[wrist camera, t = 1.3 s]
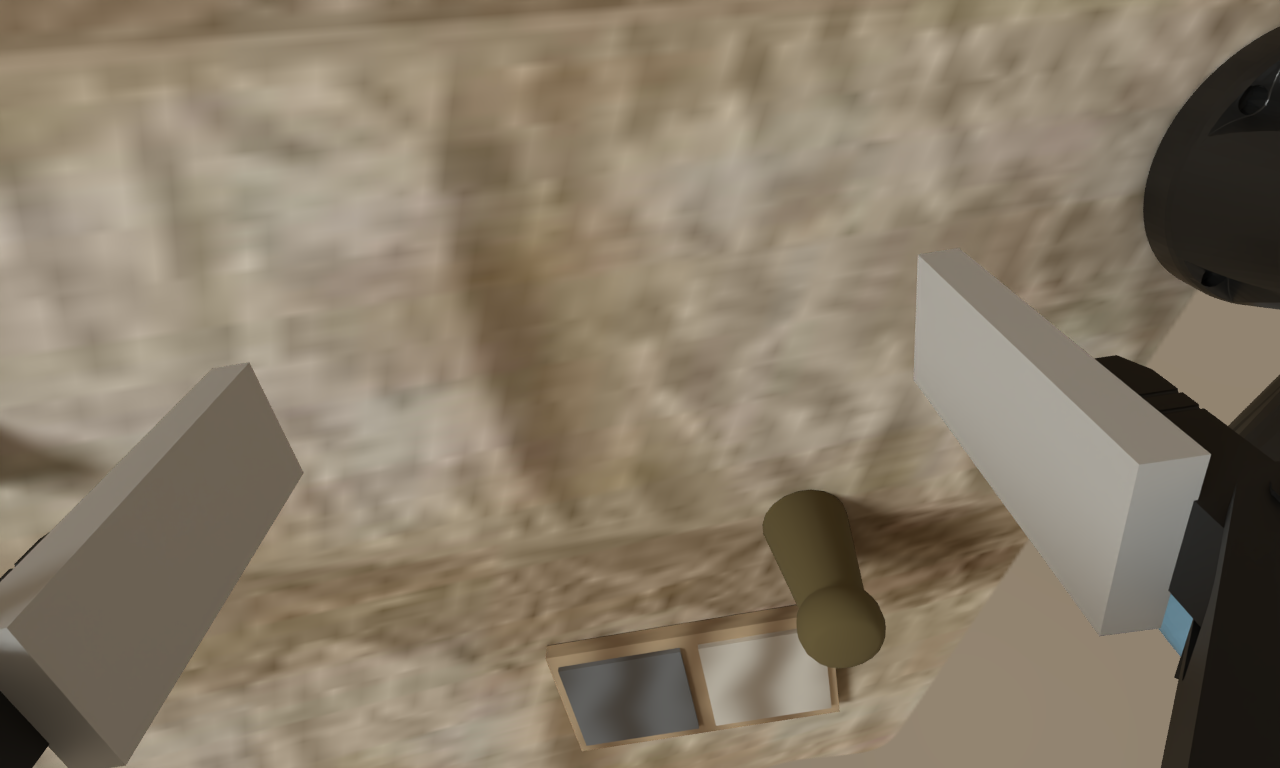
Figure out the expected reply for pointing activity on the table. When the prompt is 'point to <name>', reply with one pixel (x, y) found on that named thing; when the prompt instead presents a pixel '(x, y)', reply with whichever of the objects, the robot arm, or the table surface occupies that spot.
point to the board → (690, 679)
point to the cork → (824, 579)
